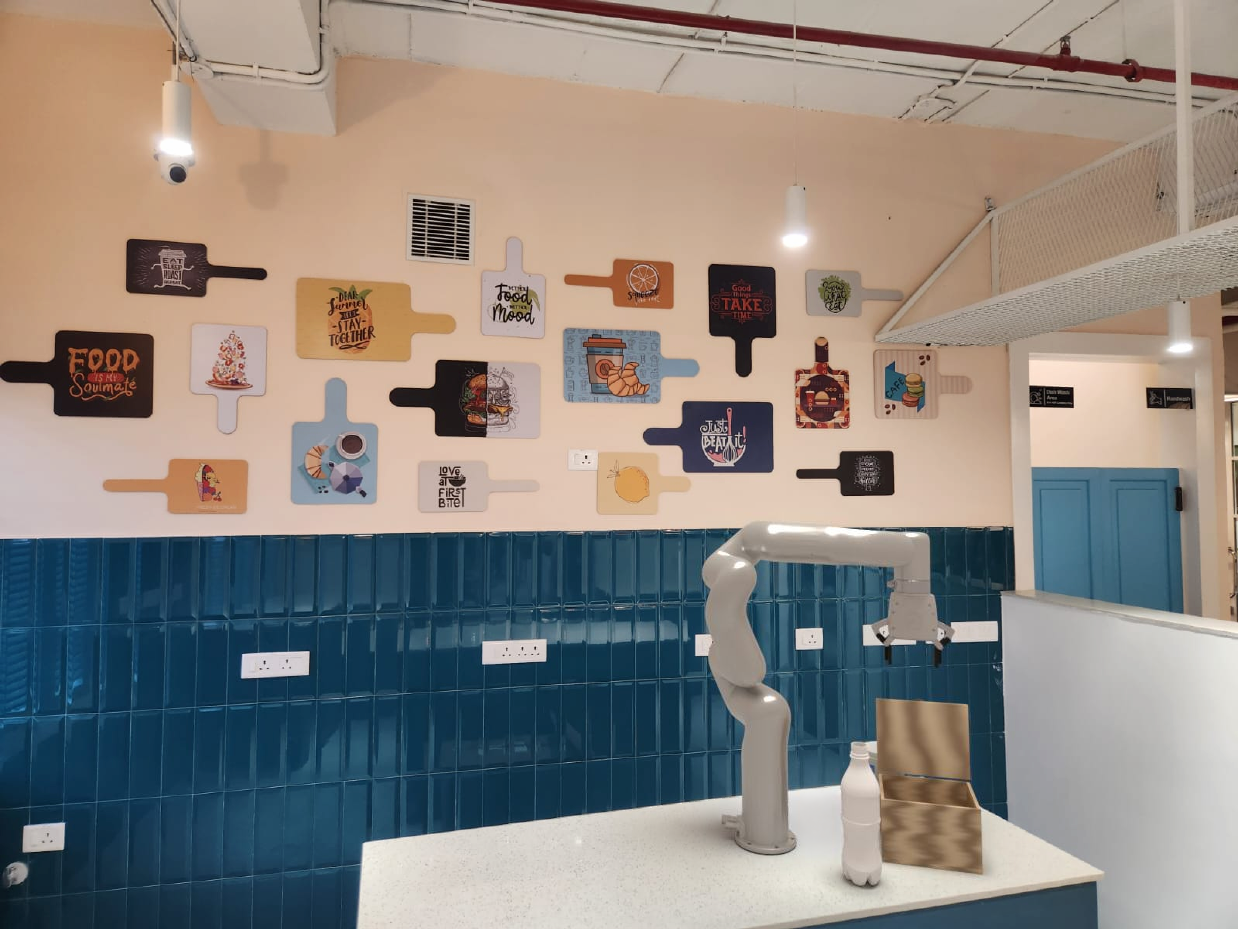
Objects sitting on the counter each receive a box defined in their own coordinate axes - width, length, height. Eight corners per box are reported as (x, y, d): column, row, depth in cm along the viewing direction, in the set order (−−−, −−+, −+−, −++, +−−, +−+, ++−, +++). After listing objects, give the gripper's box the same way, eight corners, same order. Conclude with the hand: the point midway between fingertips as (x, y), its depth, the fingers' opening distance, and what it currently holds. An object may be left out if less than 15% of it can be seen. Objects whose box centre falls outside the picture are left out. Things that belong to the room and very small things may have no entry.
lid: (876, 699, 165) (874, 692, 173) (877, 771, 164) (876, 761, 171) (967, 705, 160) (962, 698, 167) (970, 780, 158) (965, 769, 166)
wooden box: (882, 861, 149) (881, 799, 149) (879, 829, 163) (878, 773, 164) (982, 874, 144) (981, 810, 144) (970, 840, 158) (969, 781, 159)
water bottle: (884, 891, 138) (881, 751, 139) (843, 887, 139) (841, 749, 140) (879, 872, 145) (876, 739, 146) (840, 868, 146) (838, 737, 147)
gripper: (871, 587, 167) (872, 666, 166) (956, 591, 163) (957, 671, 162) (870, 584, 174) (870, 659, 174) (951, 587, 170) (952, 664, 169)
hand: (912, 665), depth 168 cm, fingers open, 9 cm apart
